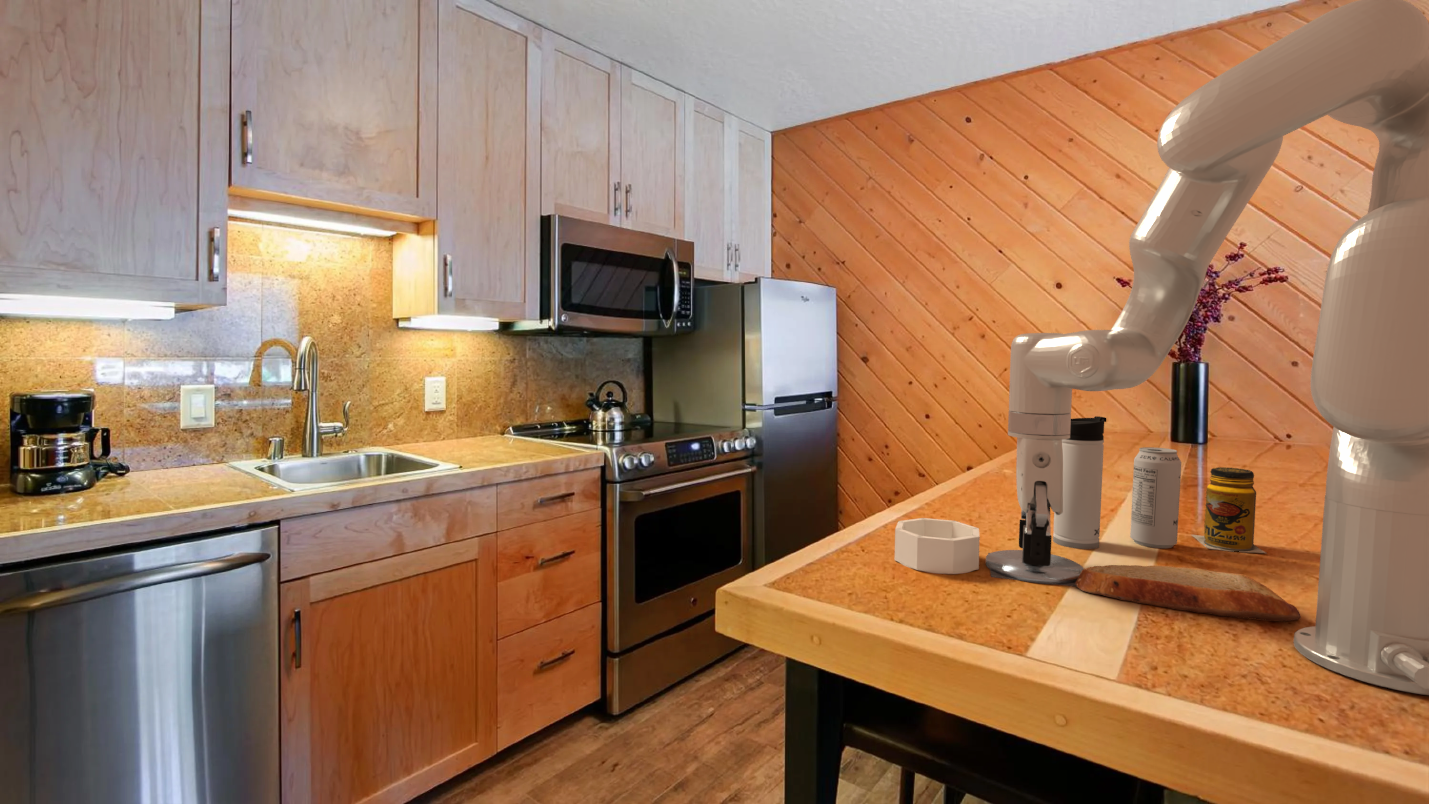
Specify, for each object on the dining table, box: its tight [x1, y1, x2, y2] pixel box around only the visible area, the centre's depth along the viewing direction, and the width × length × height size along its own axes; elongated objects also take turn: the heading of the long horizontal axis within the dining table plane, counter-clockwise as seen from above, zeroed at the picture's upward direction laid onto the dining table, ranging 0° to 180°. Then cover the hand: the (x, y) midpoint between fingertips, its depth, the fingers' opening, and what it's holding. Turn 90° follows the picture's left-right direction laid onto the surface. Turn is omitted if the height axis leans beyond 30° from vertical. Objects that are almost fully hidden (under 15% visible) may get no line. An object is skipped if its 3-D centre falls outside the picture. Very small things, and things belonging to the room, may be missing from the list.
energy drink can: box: [1129, 446, 1182, 549], centre depth 102 cm, size 6×6×15 cm
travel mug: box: [1052, 415, 1107, 550], centre depth 102 cm, size 6×7×20 cm
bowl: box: [894, 517, 981, 575], centre depth 93 cm, size 11×11×5 cm
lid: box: [985, 525, 1084, 585], centre depth 90 cm, size 12×12×6 cm
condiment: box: [1191, 466, 1267, 554], centre depth 102 cm, size 7×8×12 cm
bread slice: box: [1075, 564, 1302, 622], centre depth 79 cm, size 18×18×4 cm
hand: (1033, 555), depth 90 cm, fingers open, 6 cm apart
